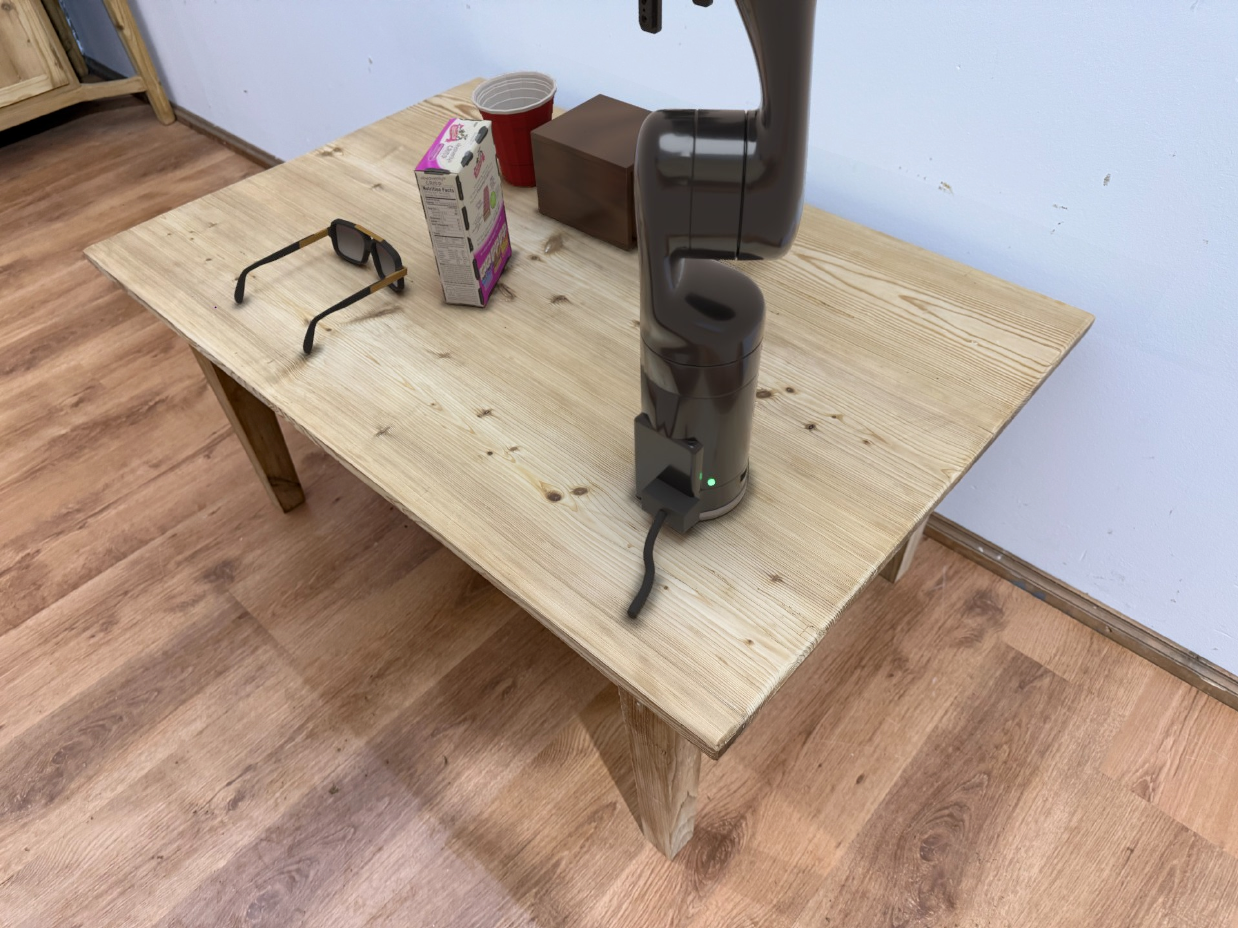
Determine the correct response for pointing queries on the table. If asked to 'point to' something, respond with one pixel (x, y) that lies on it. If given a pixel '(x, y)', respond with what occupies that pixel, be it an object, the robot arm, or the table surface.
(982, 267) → the table surface
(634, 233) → the drawer
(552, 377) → the table surface
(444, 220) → the candy bar box
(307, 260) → the table surface
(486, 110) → the plastic cup
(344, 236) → the sunglasses
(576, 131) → the dark wooden cube
